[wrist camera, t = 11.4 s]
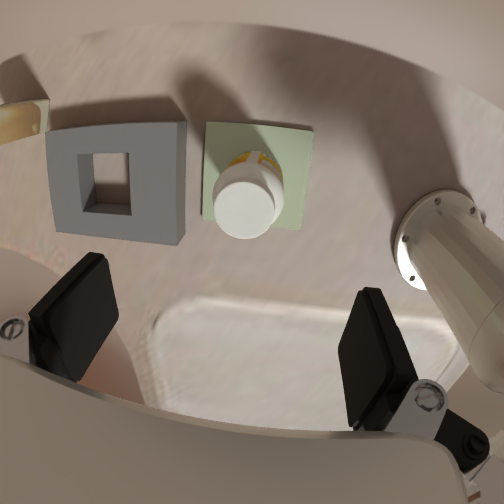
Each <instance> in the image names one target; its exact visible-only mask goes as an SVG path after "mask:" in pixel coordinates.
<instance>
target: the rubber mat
mask: <svg viewBox="0 0 504 504" xmlns="http://www.w3.org/2000/svg"><path fill="white" fill-rule="evenodd" d="M314 133H315V132H314V131H307V130H300V129H293V128H285V127H276V126H267V125H257V124H245V123H230V122H211V121H207V122H206V135H205V154H204V177H203V210H202V220H209V221H216V219H215V217H214V211H213V208H214V206H213V201H212V192H213V188H214V185H215V182H216V180H217V179H218V177H219V176H220V174H221V173H222V172H223V171H224V170H225V169H226V168H227V166H228V165H229V164H230V163H231V162H232V161H233V160H234V159H235V158H236V157H237V156H239V155H240V154H242V153H245V152H248V151H261V152H264V153H267V154H269V155H270V156H272V157H273V158H274V159H275V160H276V161H277V162H278V164H279V165H280V167H281V170H282V173H283V182H284V206H283V209H282V211H281V213H280V215H279V217H278V218H277V219H276V220H275V221H274V222H273V223H272V224H271V225H270V227H274V228H283V229H291V230H299V231H300V228H301V222H302V215H303V209H304V203H305V197H306V190H307V183H308V177H309V170H310V163H311V155H312V148H313V141H314Z"/></svg>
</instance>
